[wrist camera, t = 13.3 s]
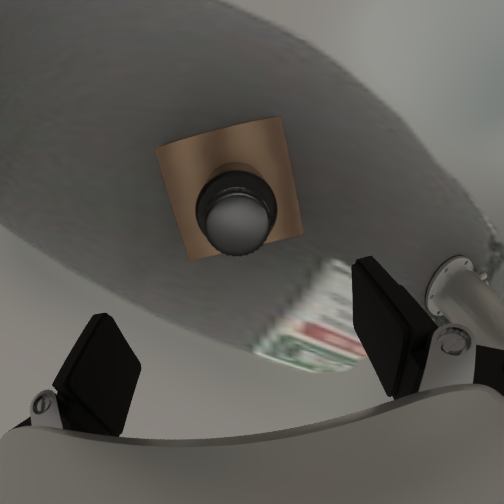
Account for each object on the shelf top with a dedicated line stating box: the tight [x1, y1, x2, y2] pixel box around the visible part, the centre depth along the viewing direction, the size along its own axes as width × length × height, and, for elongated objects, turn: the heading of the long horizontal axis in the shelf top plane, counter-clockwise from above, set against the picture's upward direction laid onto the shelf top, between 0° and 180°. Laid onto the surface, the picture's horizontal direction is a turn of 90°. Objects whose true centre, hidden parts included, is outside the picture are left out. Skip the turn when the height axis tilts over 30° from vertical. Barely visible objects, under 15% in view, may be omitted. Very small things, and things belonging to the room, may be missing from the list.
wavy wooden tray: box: [155, 116, 304, 261], centre depth 31 cm, size 14×14×3 cm
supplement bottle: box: [195, 162, 278, 256], centre depth 24 cm, size 7×7×12 cm
